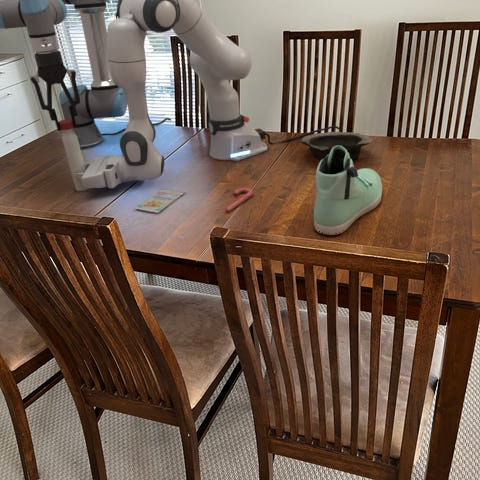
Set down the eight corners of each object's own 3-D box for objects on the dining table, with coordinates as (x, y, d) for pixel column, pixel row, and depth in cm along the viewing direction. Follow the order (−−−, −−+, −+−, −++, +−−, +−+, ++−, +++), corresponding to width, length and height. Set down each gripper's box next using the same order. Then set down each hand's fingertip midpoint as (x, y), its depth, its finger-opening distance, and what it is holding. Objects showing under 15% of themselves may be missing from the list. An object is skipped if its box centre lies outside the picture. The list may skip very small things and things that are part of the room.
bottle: (85, 191, 162) (68, 125, 150) (73, 190, 163) (55, 125, 151) (92, 185, 166) (76, 120, 154) (80, 184, 167) (63, 120, 155)
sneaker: (389, 187, 148) (396, 123, 138) (356, 242, 123) (361, 168, 112) (346, 181, 154) (350, 119, 144) (306, 232, 129) (307, 161, 118)
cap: (75, 125, 156) (73, 118, 154) (72, 129, 152) (70, 122, 151) (62, 126, 156) (60, 119, 154) (58, 130, 152) (56, 124, 151)
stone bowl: (329, 177, 157) (328, 150, 153) (288, 159, 177) (286, 135, 173) (387, 158, 166) (388, 132, 161) (342, 144, 186) (341, 120, 182)
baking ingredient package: (134, 207, 147) (161, 188, 159) (134, 208, 148) (161, 189, 159) (157, 212, 144) (184, 192, 155) (158, 213, 144) (184, 193, 155)
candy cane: (212, 209, 144) (212, 204, 144) (241, 189, 154) (240, 185, 154) (228, 213, 141) (228, 209, 140) (256, 193, 151) (256, 189, 151)
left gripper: (16, 57, 136) (40, 137, 148) (78, 48, 142) (96, 125, 154) (14, 54, 142) (37, 130, 154) (74, 45, 147) (92, 120, 160)
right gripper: (120, 149, 168) (82, 151, 169) (108, 172, 151) (64, 175, 151) (124, 165, 172) (86, 168, 172) (112, 190, 154) (69, 193, 155)
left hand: (67, 128), depth 154 cm, fingers closed on cap, 4 cm apart
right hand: (75, 171), depth 162 cm, fingers closed on bottle, 5 cm apart
